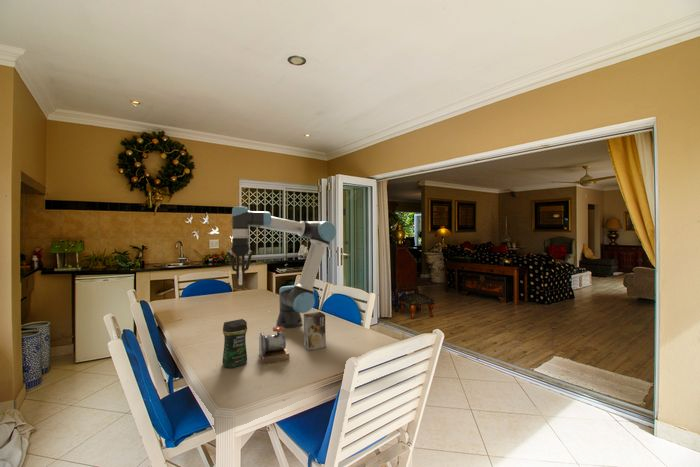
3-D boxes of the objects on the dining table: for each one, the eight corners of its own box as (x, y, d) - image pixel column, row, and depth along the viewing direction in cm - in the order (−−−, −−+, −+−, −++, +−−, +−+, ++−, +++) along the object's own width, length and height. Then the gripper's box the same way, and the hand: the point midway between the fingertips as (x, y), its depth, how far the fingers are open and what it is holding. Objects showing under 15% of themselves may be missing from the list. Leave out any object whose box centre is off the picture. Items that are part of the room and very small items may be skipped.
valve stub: (283, 350, 150) (283, 323, 149) (289, 360, 139) (289, 330, 138) (258, 354, 145) (258, 326, 145) (263, 364, 134) (263, 334, 134)
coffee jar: (227, 370, 129) (227, 324, 128) (220, 364, 134) (219, 320, 134) (250, 363, 135) (249, 320, 135) (242, 357, 141) (241, 316, 141)
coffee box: (320, 343, 159) (320, 311, 159) (325, 347, 153) (325, 314, 153) (303, 346, 155) (303, 313, 155) (308, 350, 149) (307, 316, 149)
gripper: (252, 237, 165) (252, 282, 165) (225, 237, 159) (226, 284, 160) (254, 237, 158) (254, 284, 158) (226, 237, 152) (227, 286, 153)
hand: (240, 284), depth 159 cm, fingers closed
